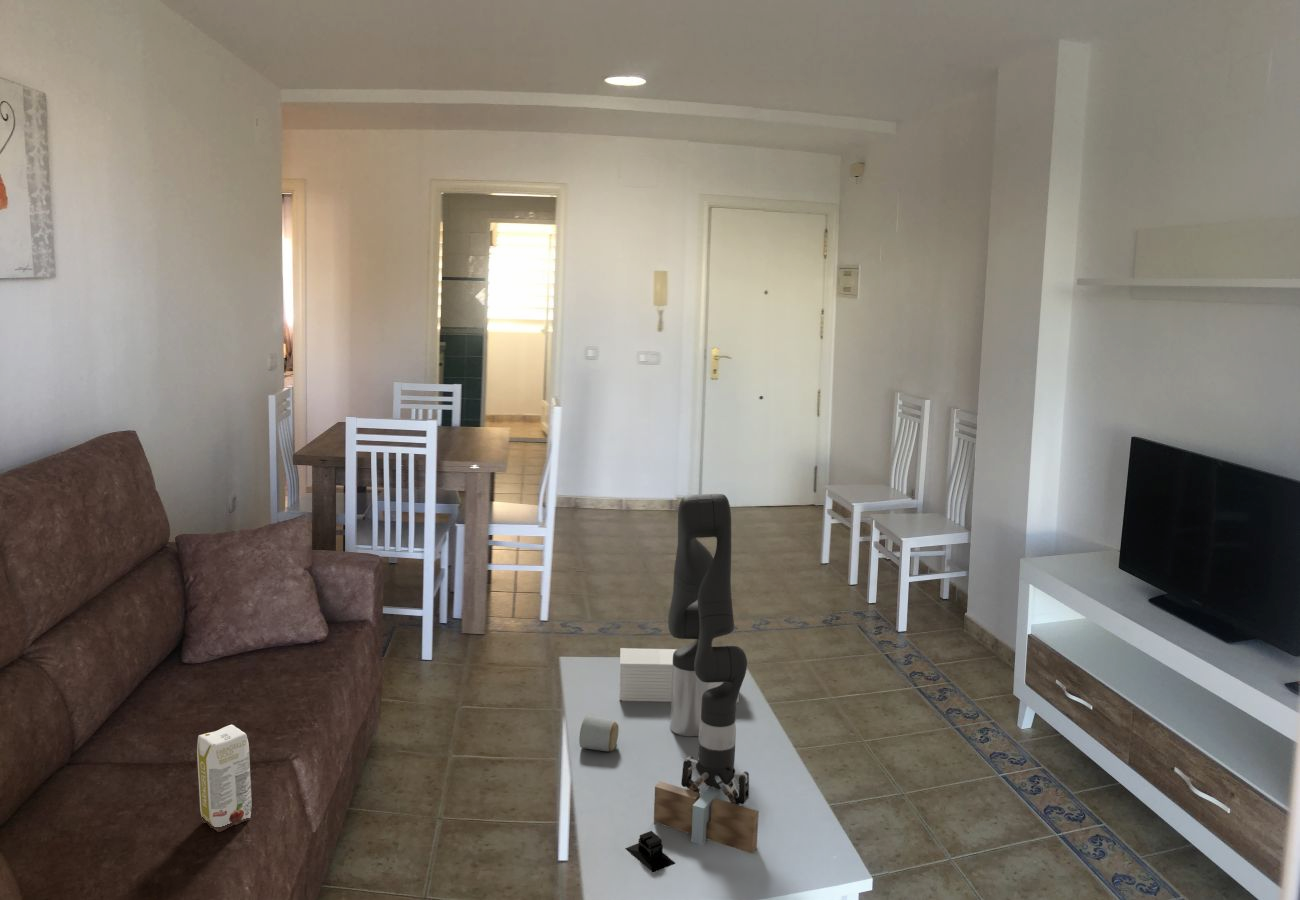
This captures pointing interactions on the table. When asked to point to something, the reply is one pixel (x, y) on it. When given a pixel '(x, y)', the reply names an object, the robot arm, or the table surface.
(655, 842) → the black plastic bracket
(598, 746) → the ceramic mug
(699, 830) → the blue grey block
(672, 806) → the brown wooden board
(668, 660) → the stack of papers
